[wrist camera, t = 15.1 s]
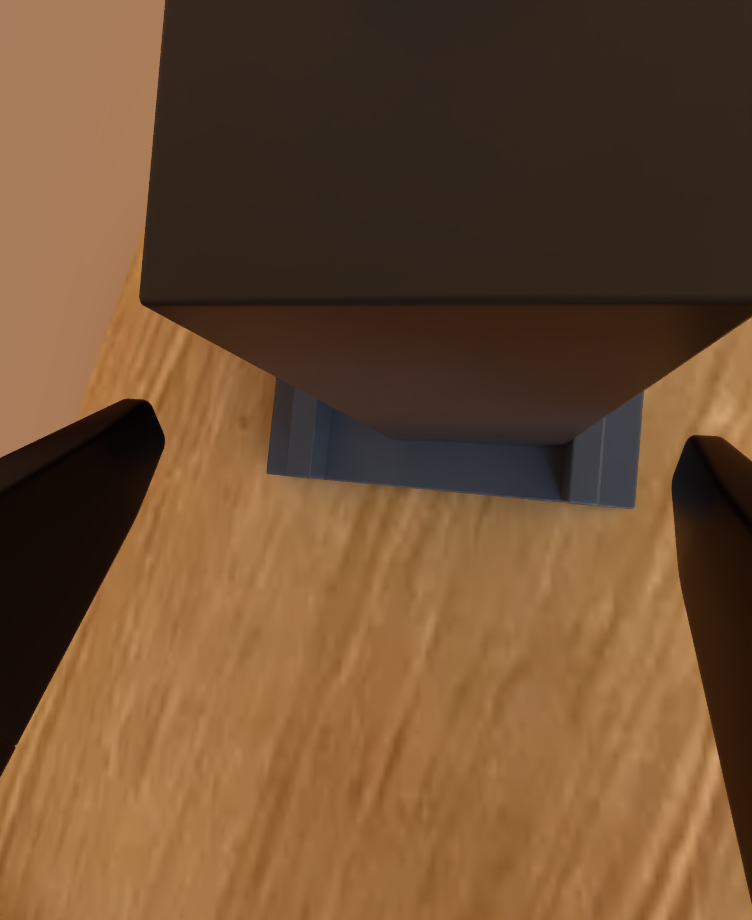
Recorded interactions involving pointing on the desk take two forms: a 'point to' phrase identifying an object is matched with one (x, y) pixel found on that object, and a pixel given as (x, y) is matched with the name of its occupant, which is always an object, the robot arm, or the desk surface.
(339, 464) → the stand
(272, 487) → the desk surface
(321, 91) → the battery pack
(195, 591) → the desk surface
